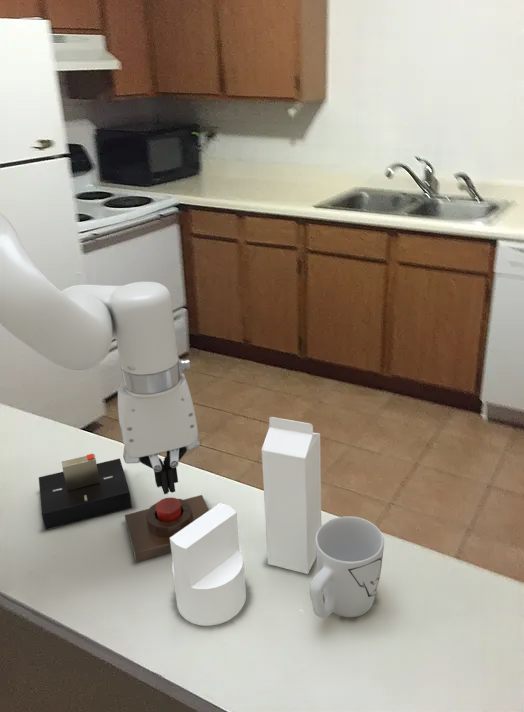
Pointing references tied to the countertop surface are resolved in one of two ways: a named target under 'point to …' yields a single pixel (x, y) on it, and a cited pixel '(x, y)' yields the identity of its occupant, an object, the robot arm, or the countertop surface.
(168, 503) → the timer button
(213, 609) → the cylinder with rectangular tab
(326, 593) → the mug
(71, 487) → the knob
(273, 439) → the milk
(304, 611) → the countertop surface
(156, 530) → the brown button base
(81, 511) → the panel
